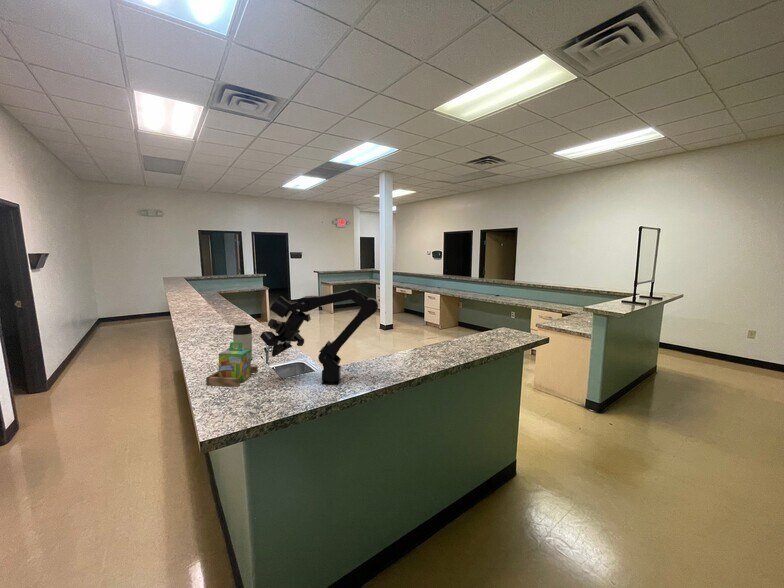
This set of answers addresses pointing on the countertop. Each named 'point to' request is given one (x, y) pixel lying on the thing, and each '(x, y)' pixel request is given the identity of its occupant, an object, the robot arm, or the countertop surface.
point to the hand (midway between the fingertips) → (272, 355)
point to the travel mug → (243, 335)
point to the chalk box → (235, 362)
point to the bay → (226, 379)
